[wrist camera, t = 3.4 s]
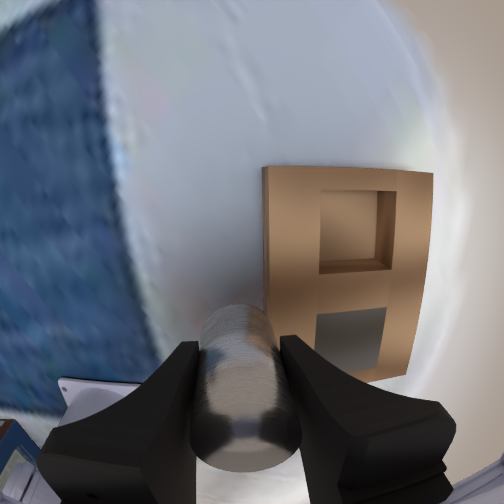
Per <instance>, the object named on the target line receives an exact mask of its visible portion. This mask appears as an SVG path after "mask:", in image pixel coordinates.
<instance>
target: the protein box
mask: <svg viewBox="0 0 504 504" xmlns="http://www.w3.org/2000/svg"><path fill="white" fill-rule="evenodd" d="M40 451H41V450H40V449H39V447H38V446H37V445H36V444H35V443H34V442H33V441H32V439H31V438H30V437H29V436H28V435H27V433H26V432H25V431H24V430H23V429H22V427H21V426H20V425H19V423H18V422H17V421H16V420H0V490H1V491H3V489H4V487H5V485H6V483H7V481H8V479H9V477H10V475H11V473H12V471H13V470H14V468H15V466H16V464H17V463H22V462H23V463H25V462H26V461H28V462H30V463H31V464H32V465H33V466H34V468H35V467H36V460H37V457H38V455H39V453H40ZM34 468H33V470H34Z"/></svg>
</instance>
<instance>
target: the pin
mask: <svg viewBox="0 0 504 504" xmlns="http://www.w3.org/2000/svg"><path fill="white" fill-rule="evenodd" d="M301 441H302V429H301V425H300V421H299V418H298V414H297V411H296V408H295V404H294V401H293V397H292V394H291V390H290V387H289V383H288V380H287V376H286V373H285V369H284V366H283V362H282V359H281V355H280V352H279V348H278V345H277V341H276V338H275V334H274V331H273V327H272V324H271V322H270V320H269V318H268V317H267V316H266V315H265V314H264V313H263V312H262V311H261V310H259V309H258V308H256V307H254V306H251V305H248V304H241V303H234V304H228V305H225V306H222V307H220V308H218V309H216V310H215V311H214V312H212V313H211V314H210V315H209V317H208V318H207V319H206V321H205V323H204V326H203V329H202V336H201V343H200V351H199V359H198V367H197V374H196V382H195V390H194V399H193V407H192V416H191V425H190V434H189V442H190V446H191V448H192V450H193V452H194V453H195V454H196V456H197V457H198V458H200V459H201V460H202V461H204V462H205V463H207V464H209V465H211V466H213V467H215V468H218V469H222V470H226V471H232V472H254V471H260V470H264V469H268V468H271V467H274V466H276V465H278V464H280V463H282V462H284V461H285V460H287V459H288V458H289V457H291V456H292V455H293V454H294V453H295V452H296V450H297V449H298V448H299V446H300V444H301Z"/></svg>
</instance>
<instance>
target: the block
mask: <svg viewBox="0 0 504 504" xmlns="http://www.w3.org/2000/svg"><path fill="white" fill-rule="evenodd" d="M262 198H263V254H264V314H265V315H266V316H267V317H268V318H269V320H270V322H271V324H272V327H273V331H274V334H275V338H276V341H277V345H278V348H279V352H280V336H285V335H297V336H298V337H299V338H301V339H302V340H303V341H304V342H305V343H306V344H307V345H309V346H310V347H311V348H312V349H313V350H314V351H316V352H317V353H318V354H319V355H321V356H322V357H323V358H324V359H326V360H327V361H329V362H330V363H331V364H333V365H334V366H336V367H337V368H339V369H341V370H342V371H344V372H345V373H347V374H349V375H351V376H353V377H355V378H357V379H359V380H361V381H363V382H365V383H367V382H372V381H378V380H382V379H387V378H392V377H396V376H401V375H405V374H406V371H407V367H408V364H409V360H410V356H411V351H412V347H413V343H414V338H415V334H416V329H417V324H418V319H419V314H420V308H421V303H422V297H423V291H424V284H425V277H426V270H427V262H428V253H429V244H430V233H431V220H432V203H433V173H427V172H416V171H403V170H389V169H373V168H351V167H317V166H267V167H262Z"/></svg>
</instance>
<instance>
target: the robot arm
mask: <svg viewBox="0 0 504 504" xmlns="http://www.w3.org/2000/svg"><path fill="white" fill-rule="evenodd" d="M280 355H281V359H282V362H283V366H284V369H285V373H286V376H287V380H288V383H289V387H290V390H291V394H292V397H293V401H294V404H295V408H296V411H297V414H298V418H299V421H300V425H301V429H302V441H301V444H300V446H299V449H300V452H301V457H302V462H303V467H304V472H305V477H306V482H307V487H308V493H309V498H310V504H504V452H503V454H502V456H501V458H500V459H499V460H497V461H495V462H494V463H492V464H490V465H489V466H487V467H485V468H484V469H482V470H480V471H478V472H476V473H475V474H473V475H471V476H469V477H467V478H465V479H463V480H462V481H460V482H458V483H456V484H454V485H451V484H450V482H449V481H448V479H447V477H446V476H445V474H444V472H445V471H446V469H447V468H446V465H445V464H444V462H443V461H442V459H443V457H444V455H445V454H446V452H447V450H448V448H449V446H450V444H451V443H452V440H453V438H454V435H455V433H456V423H455V421H454V420H453V418H452V417H451V416H450V415H449V413H448V412H447V411H446V410H445V408H444V407H443V406H442V405H441V404H440V403H439V402H437V401H430V400H423V399H416V398H411V397H407V396H403V395H399V394H395V393H391V392H388V391H385V390H382V389H380V388H377V387H374V386H372V385H369V384H367V383H365V382H363V381H361V380H359V379H357V378H355V377H353V376H351V375H349V374H347V373H345V372H344V371H342V370H341V369H339V368H337V367H336V366H334V365H333V364H331V363H330V362H329V361H327V360H326V359H324V358H323V357H322V356H321V355H319V354H318V353H317V352H316V351H314V350H313V349H312V348H311V347H310V346H309V345H307V344H306V343H305V342H304V341H303V340H302V339H301V338H299V337H298V336H297V335H285V336H280ZM198 359H199V345H198V341H187V342H181V343H180V344H179V345H178V347H177V348H176V349H175V350H174V351H173V352H172V354H171V355H170V356H169V357H168V358H167V359H166V360H165V362H164V363H163V364H162V365H161V366H160V367H159V368H158V369H157V370H156V371H155V372H154V373H153V374H152V375H151V376H150V377H149V378H148V379H147V380H146V381H145V382H144V383H142V384H141V385H140V384H125V383H111V382H99V381H88V380H79V379H70V378H60V379H59V380H58V384H59V387H60V389H61V392H62V394H63V397H64V399H65V401H66V404H67V406H68V409H67V411H66V413H65V414H64V416H63V418H62V420H61V422H60V423H59V425H58V427H55V428H53V429H52V431H51V432H50V434H49V436H48V438H47V440H46V441H45V443H44V445H43V447H42V449H41V451H40V453H39V455H38V457H37V460H36V467H35V468H34V466H33V465H32V464H31V463H30V462H28V461H26V462H25V463H23V462H22V463H17V464H16V466H15V468H14V470H13V471H12V473H11V475H10V477H9V479H8V481H7V483H6V485H5V487H4V489H3V491H1V490H0V504H196V458H197V456H196V454H195V453H194V452H193V450H192V448H191V446H190V442H189V434H190V425H191V416H192V407H193V399H194V390H195V382H196V374H197V367H198ZM33 468H34V470H33Z"/></svg>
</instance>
